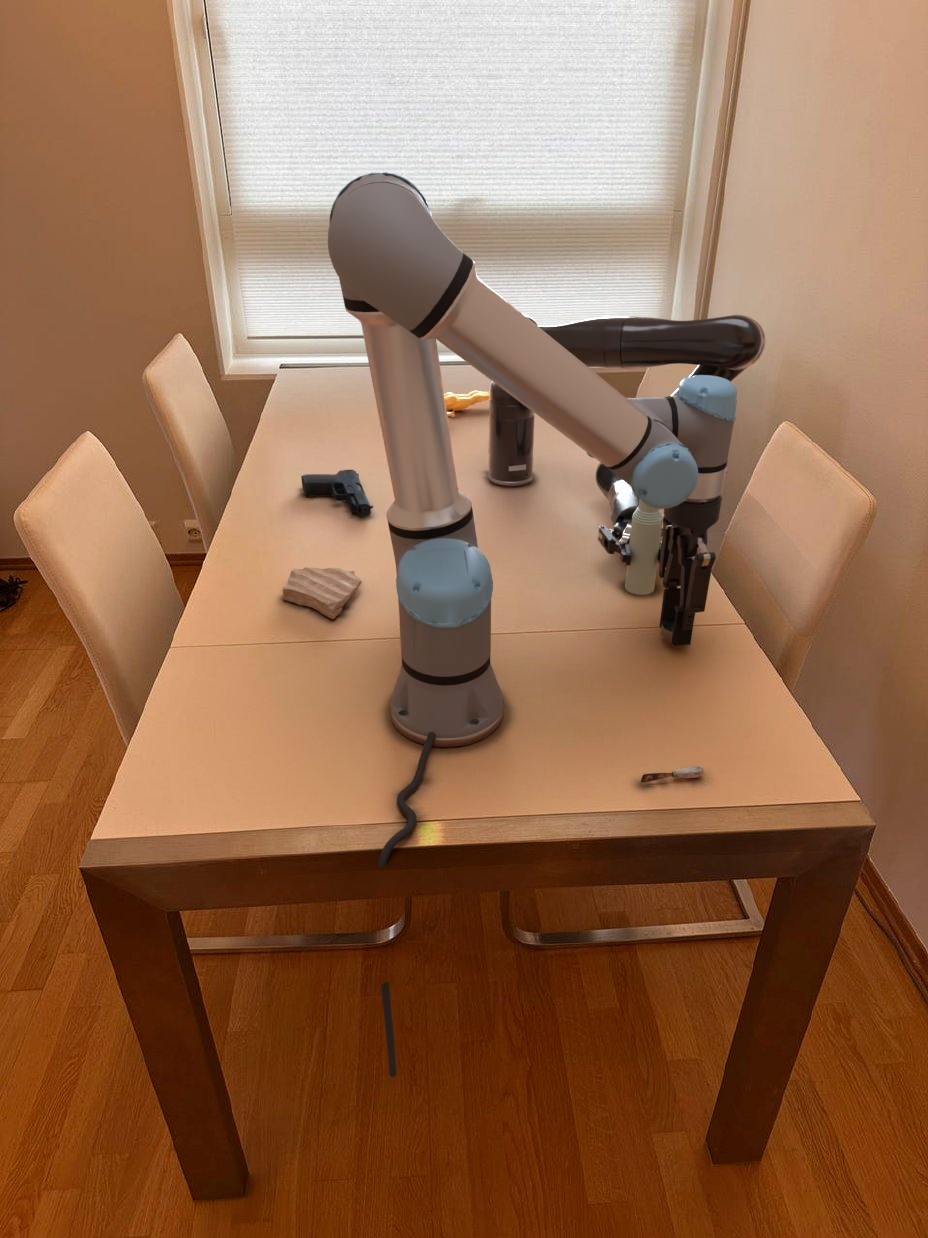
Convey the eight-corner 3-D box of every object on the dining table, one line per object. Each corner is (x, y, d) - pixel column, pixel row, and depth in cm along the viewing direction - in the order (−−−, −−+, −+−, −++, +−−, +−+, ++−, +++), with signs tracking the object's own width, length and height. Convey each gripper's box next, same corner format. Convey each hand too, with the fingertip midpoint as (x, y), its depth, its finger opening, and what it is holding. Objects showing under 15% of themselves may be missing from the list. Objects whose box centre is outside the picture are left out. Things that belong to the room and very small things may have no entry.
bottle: (656, 583, 151) (668, 490, 142) (651, 597, 147) (663, 502, 138) (628, 578, 152) (637, 486, 143) (622, 592, 148) (631, 498, 139)
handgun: (311, 508, 169) (373, 501, 172) (300, 472, 183) (358, 466, 186) (312, 523, 171) (374, 516, 173) (302, 487, 185) (359, 480, 188)
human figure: (395, 413, 223) (394, 398, 221) (438, 390, 237) (438, 375, 235) (462, 429, 215) (462, 413, 213) (502, 404, 229) (503, 388, 227)
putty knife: (703, 777, 109) (705, 767, 109) (642, 788, 108) (644, 777, 107) (700, 772, 110) (702, 762, 109) (639, 782, 109) (640, 771, 108)
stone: (371, 585, 150) (370, 572, 149) (335, 620, 141) (334, 607, 139) (304, 572, 154) (303, 559, 153) (266, 605, 145) (264, 591, 144)
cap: (654, 631, 135) (656, 621, 135) (678, 624, 137) (679, 615, 136) (672, 645, 132) (673, 635, 131) (696, 638, 134) (697, 628, 133)
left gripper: (747, 516, 115) (722, 664, 128) (695, 466, 130) (676, 603, 142) (693, 521, 114) (672, 670, 127) (646, 470, 129) (631, 608, 141)
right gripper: (593, 495, 156) (603, 539, 142) (676, 496, 156) (693, 540, 141) (590, 533, 160) (599, 580, 146) (671, 534, 160) (687, 581, 145)
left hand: (674, 634), depth 134 cm, fingers closed on cap, 4 cm apart
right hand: (645, 560), depth 144 cm, fingers closed on bottle, 5 cm apart
